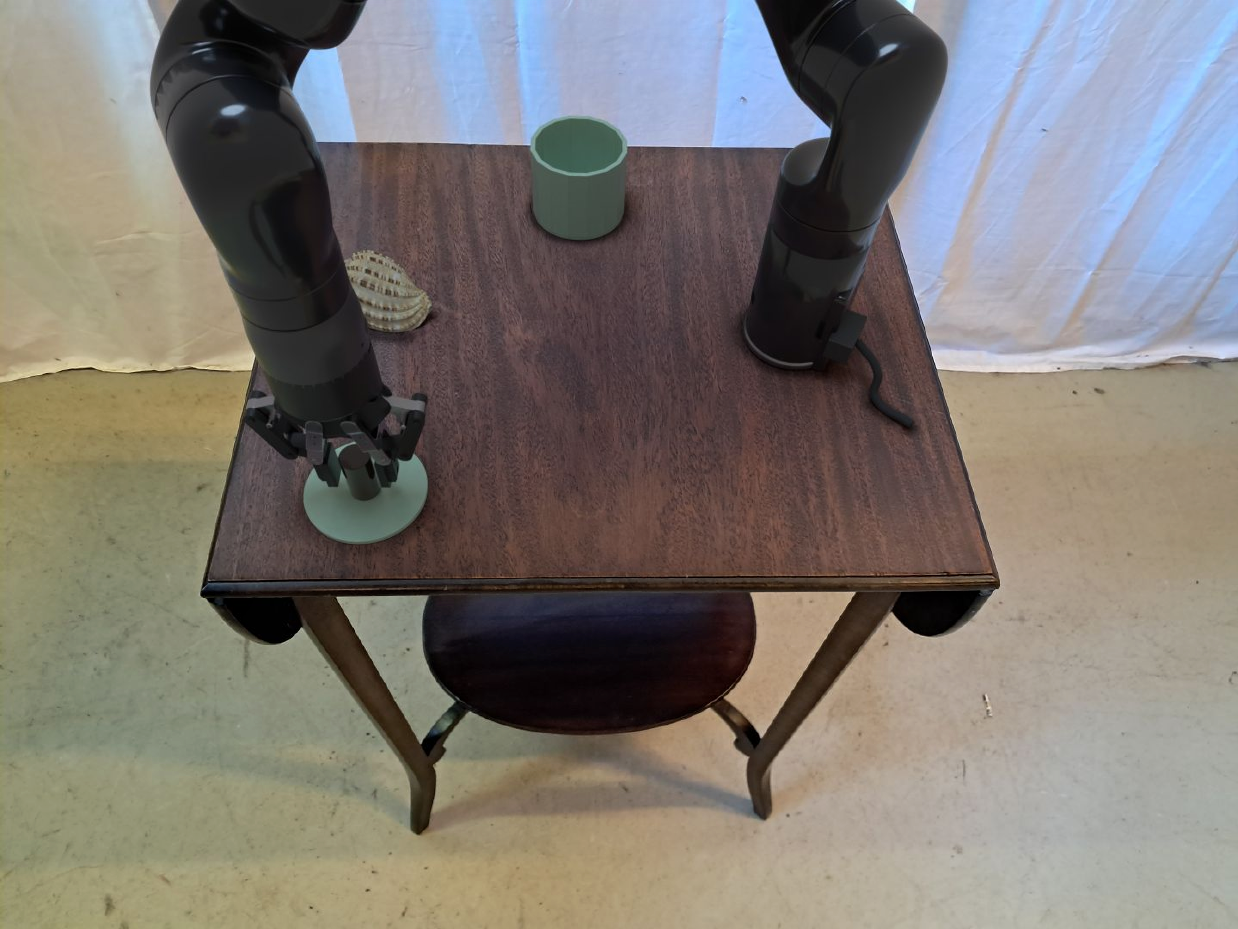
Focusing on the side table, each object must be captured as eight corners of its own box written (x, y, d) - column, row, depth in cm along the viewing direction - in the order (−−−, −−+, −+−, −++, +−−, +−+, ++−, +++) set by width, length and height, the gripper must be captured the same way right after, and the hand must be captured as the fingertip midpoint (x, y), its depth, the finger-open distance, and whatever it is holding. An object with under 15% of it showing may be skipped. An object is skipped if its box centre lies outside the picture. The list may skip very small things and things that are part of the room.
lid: (435, 446, 79) (425, 406, 74) (422, 548, 73) (411, 512, 69) (317, 445, 79) (301, 404, 74) (295, 547, 73) (275, 510, 68)
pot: (622, 181, 101) (626, 116, 94) (624, 241, 96) (628, 176, 89) (535, 179, 101) (532, 114, 94) (531, 239, 95) (528, 174, 88)
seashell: (431, 304, 93) (338, 262, 90) (449, 268, 88) (352, 223, 85) (411, 358, 89) (313, 317, 85) (429, 324, 84) (326, 279, 81)
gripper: (190, 380, 57) (267, 516, 71) (410, 383, 58) (443, 517, 72) (218, 297, 62) (285, 441, 76) (423, 301, 62) (451, 443, 76)
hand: (362, 478), depth 74 cm, fingers open, 3 cm apart
